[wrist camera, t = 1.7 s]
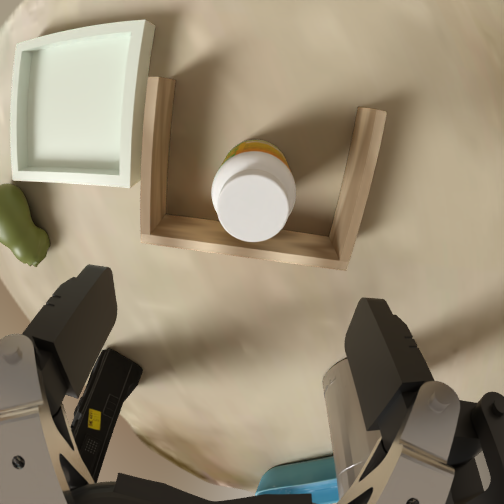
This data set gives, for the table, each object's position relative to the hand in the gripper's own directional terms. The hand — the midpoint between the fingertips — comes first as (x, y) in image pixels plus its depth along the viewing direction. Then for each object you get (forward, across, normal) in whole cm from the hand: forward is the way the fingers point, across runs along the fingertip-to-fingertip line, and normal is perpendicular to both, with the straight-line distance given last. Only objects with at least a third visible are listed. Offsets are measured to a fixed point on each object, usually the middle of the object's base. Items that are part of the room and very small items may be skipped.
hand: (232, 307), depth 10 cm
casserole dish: (+18, -26, +58) cm, 66 cm away
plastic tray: (+18, +16, -6) cm, 25 cm away
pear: (+18, +24, +7) cm, 31 cm away
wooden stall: (+18, -1, -1) cm, 18 cm away
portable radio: (+18, +15, +28) cm, 36 cm away
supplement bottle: (+18, -1, 0) cm, 18 cm away
